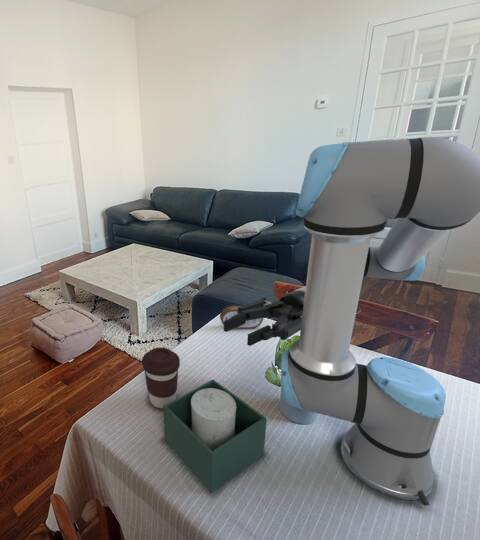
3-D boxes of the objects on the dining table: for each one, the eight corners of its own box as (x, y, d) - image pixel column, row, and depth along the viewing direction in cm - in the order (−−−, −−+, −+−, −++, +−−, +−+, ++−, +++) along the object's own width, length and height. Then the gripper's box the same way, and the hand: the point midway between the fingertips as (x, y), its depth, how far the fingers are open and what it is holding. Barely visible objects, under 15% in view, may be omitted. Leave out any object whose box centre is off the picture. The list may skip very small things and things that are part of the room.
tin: (261, 324, 125) (262, 304, 122) (263, 329, 122) (265, 308, 119) (219, 325, 127) (220, 305, 124) (221, 330, 124) (221, 309, 121)
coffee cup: (139, 394, 96) (135, 349, 91) (169, 383, 99) (168, 340, 94) (154, 417, 88) (151, 370, 82) (187, 405, 91) (186, 359, 85)
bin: (263, 455, 75) (266, 418, 71) (211, 493, 68) (212, 454, 64) (212, 412, 88) (213, 379, 84) (164, 440, 81) (163, 405, 77)
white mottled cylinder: (239, 437, 79) (241, 396, 75) (227, 470, 72) (229, 426, 67) (199, 423, 84) (199, 383, 80) (185, 452, 77) (184, 410, 72)
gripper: (337, 332, 80) (271, 368, 71) (268, 303, 96) (207, 329, 87) (342, 304, 78) (273, 338, 68) (270, 279, 94) (207, 303, 84)
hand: (236, 333), depth 77 cm, fingers open, 6 cm apart
